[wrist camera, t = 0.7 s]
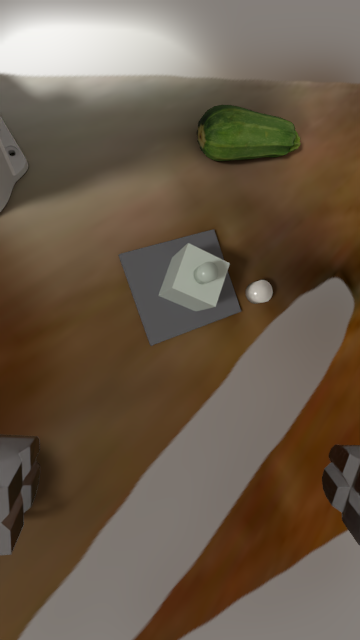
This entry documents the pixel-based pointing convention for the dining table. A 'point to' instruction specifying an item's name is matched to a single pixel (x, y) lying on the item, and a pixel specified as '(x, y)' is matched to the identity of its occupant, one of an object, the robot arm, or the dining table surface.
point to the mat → (147, 279)
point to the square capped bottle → (194, 278)
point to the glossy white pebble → (259, 291)
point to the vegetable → (244, 134)
